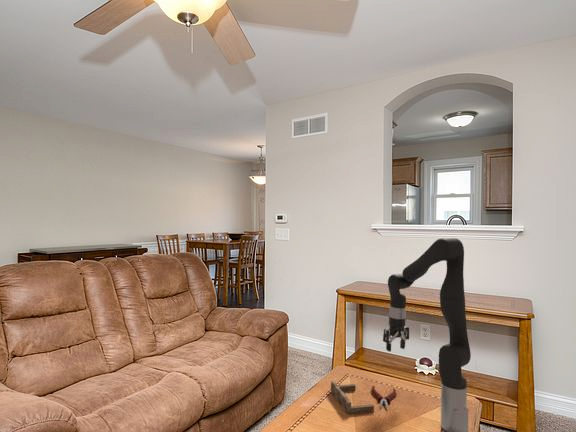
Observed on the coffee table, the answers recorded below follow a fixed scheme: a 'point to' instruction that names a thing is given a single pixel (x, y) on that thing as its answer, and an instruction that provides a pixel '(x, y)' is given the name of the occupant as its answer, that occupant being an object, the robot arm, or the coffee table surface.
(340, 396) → the tool rest
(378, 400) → the pliers
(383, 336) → the robot arm
